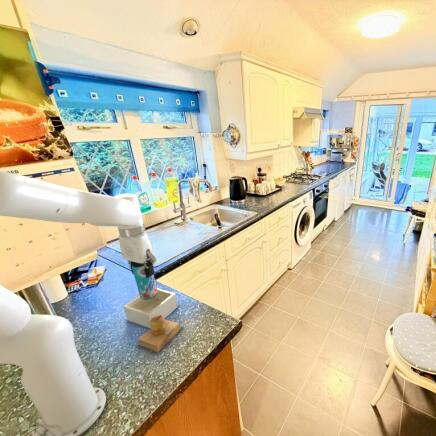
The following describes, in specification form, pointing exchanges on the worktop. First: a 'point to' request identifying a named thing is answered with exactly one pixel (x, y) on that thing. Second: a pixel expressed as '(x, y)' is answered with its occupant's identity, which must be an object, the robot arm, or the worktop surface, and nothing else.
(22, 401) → the worktop surface
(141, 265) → the beverage can
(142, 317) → the white open box
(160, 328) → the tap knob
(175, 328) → the flat wooden block
